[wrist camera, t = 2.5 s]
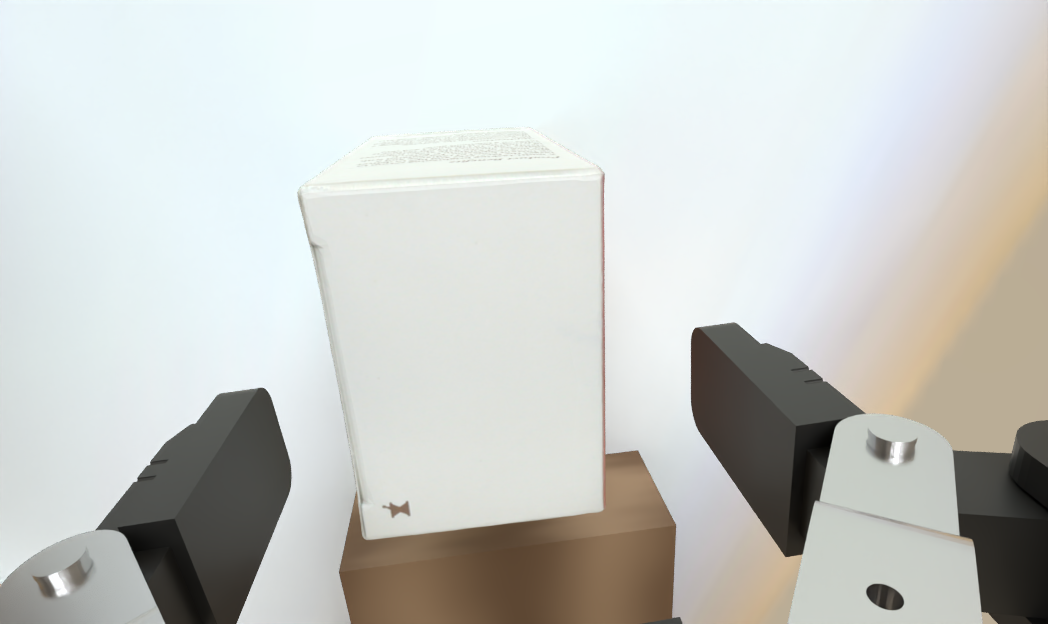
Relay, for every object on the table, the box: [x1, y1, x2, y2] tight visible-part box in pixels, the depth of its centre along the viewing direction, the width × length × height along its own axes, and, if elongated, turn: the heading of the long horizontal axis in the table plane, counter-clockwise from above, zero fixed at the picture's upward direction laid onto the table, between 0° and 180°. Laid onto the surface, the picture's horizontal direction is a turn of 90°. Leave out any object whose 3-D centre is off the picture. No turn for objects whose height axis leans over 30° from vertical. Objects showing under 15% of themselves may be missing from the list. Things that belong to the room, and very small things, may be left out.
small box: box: [297, 127, 606, 540], centre depth 17 cm, size 8×6×10 cm
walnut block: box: [339, 451, 676, 624], centre depth 26 cm, size 12×12×5 cm
